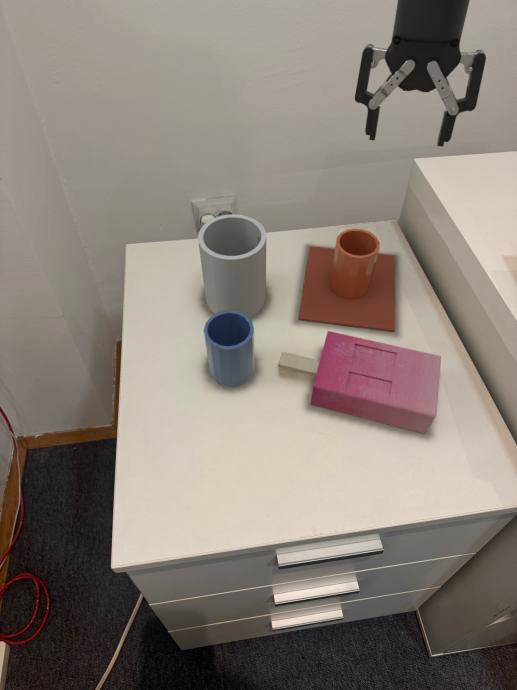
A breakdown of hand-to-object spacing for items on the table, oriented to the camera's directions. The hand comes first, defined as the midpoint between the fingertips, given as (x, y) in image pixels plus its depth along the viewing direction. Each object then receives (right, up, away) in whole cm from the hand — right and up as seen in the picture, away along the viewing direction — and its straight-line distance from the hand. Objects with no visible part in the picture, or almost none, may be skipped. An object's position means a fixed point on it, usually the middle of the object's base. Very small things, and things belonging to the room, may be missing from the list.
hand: (406, 141), depth 63 cm
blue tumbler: (-23, -29, +4) cm, 37 cm away
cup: (-23, -19, +12) cm, 32 cm away
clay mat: (-5, -17, +13) cm, 22 cm away
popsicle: (-7, -32, +2) cm, 33 cm away
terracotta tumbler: (-5, -17, +13) cm, 22 cm away
